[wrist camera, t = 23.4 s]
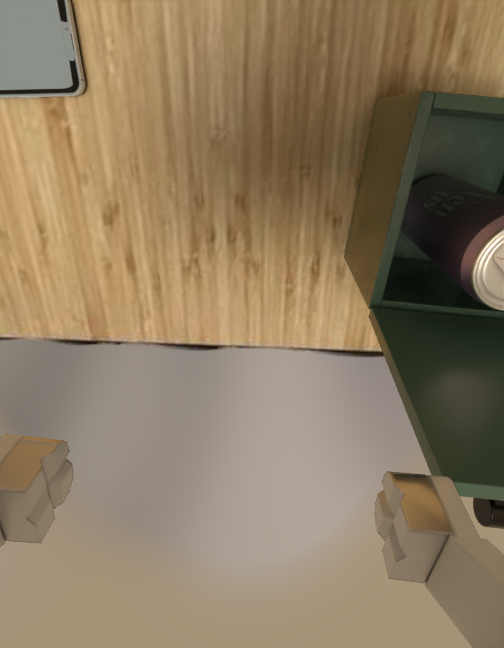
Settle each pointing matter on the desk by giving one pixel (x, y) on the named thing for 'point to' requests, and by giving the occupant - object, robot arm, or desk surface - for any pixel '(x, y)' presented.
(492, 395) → the lid
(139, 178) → the desk surface
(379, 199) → the dark green box
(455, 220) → the beverage can
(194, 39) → the desk surface
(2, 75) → the smartphone
